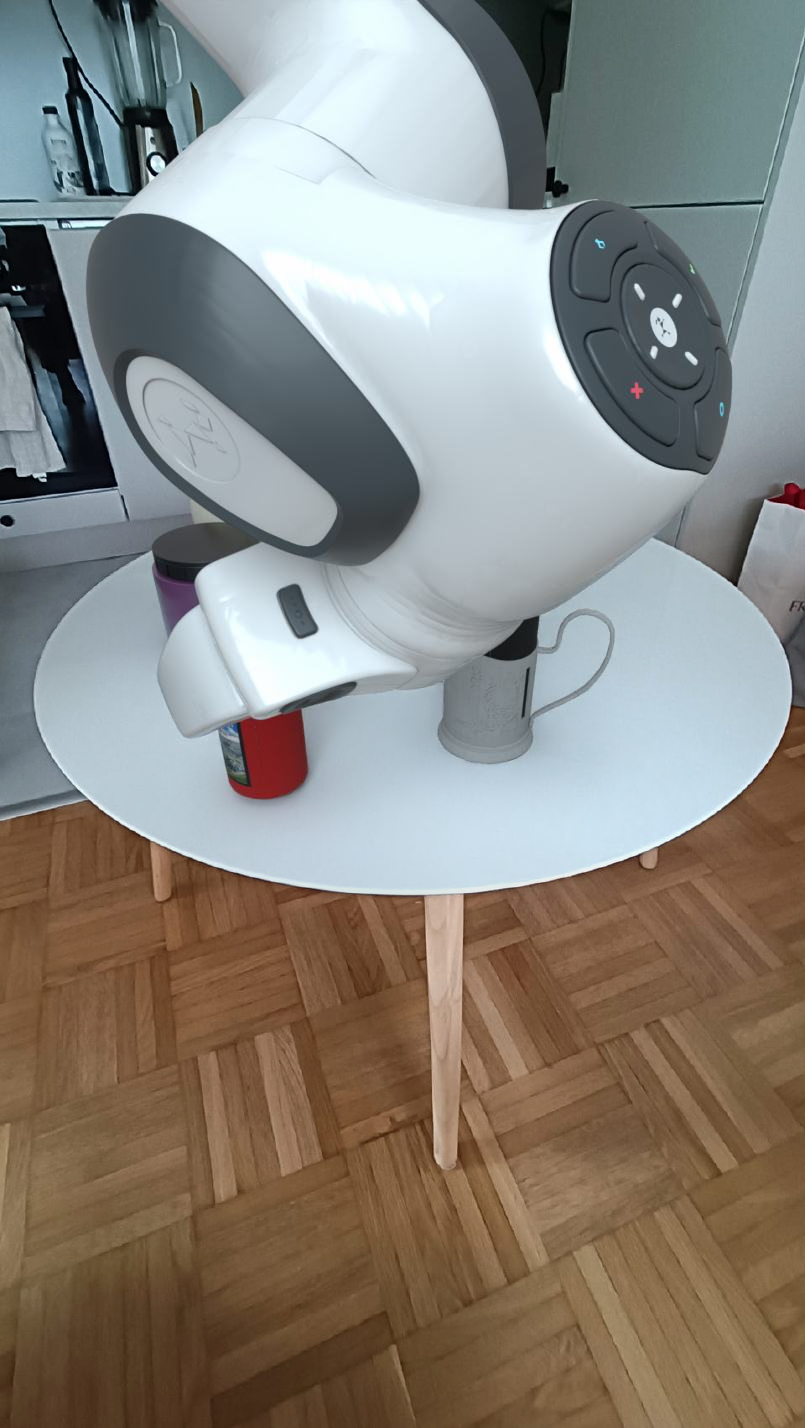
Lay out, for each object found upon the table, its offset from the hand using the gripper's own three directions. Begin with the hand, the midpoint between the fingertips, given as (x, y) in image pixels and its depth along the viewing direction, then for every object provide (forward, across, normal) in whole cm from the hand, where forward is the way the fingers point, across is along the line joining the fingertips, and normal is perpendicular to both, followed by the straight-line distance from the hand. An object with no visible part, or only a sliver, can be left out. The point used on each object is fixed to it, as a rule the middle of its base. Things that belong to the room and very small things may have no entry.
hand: (318, 675), depth 44 cm
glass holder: (+14, -21, +9) cm, 27 cm away
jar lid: (+30, -7, -22) cm, 38 cm away
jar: (+38, -7, -15) cm, 41 cm away
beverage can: (+20, 0, +4) cm, 20 cm away
